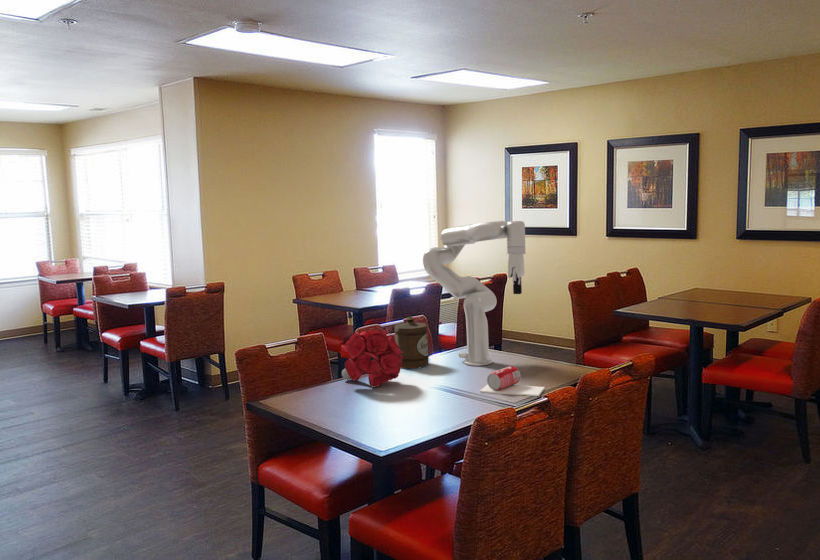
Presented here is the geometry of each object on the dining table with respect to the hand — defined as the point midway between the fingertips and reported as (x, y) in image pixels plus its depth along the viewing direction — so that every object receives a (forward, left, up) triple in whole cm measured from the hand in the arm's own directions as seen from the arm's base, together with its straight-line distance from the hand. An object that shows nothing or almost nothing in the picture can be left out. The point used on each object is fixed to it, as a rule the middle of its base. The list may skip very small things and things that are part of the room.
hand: (517, 293), depth 279 cm
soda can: (+5, -27, -28) cm, 39 cm away
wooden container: (-48, -5, -32) cm, 58 cm away
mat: (+6, -34, -32) cm, 48 cm away
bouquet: (-51, -40, -32) cm, 72 cm away
